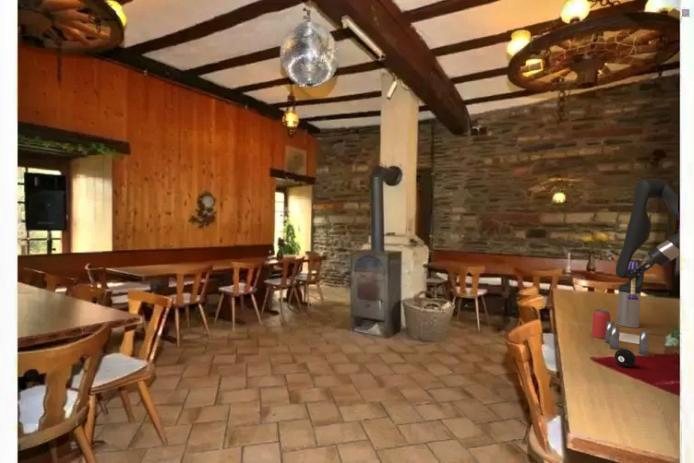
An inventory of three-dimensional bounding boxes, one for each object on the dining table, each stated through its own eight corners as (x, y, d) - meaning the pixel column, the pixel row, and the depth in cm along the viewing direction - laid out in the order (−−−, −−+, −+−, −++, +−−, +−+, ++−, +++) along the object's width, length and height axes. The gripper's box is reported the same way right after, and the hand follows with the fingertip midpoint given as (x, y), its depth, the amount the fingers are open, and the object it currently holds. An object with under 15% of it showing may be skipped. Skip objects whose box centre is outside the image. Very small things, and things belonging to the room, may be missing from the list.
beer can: (612, 340, 171) (613, 312, 171) (595, 338, 173) (597, 311, 172) (605, 335, 178) (606, 309, 177) (589, 334, 179) (590, 308, 179)
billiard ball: (638, 367, 138) (639, 350, 138) (630, 370, 135) (631, 353, 134) (619, 362, 143) (620, 345, 143) (611, 364, 140) (612, 348, 140)
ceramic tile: (646, 339, 175) (646, 336, 175) (646, 345, 165) (647, 343, 165) (613, 333, 182) (613, 331, 182) (612, 339, 172) (612, 337, 172)
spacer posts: (606, 341, 169) (607, 320, 169) (652, 351, 156) (654, 329, 156) (597, 345, 162) (598, 323, 162) (644, 356, 150) (646, 333, 149)
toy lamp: (623, 297, 175) (625, 260, 175) (633, 297, 175) (634, 261, 175) (631, 299, 170) (633, 261, 170) (641, 300, 170) (643, 262, 170)
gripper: (655, 246, 173) (621, 270, 181) (657, 247, 162) (620, 272, 169) (670, 258, 170) (634, 283, 178) (673, 260, 159) (635, 286, 166)
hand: (628, 277), depth 174 cm, fingers closed on toy lamp, 4 cm apart
